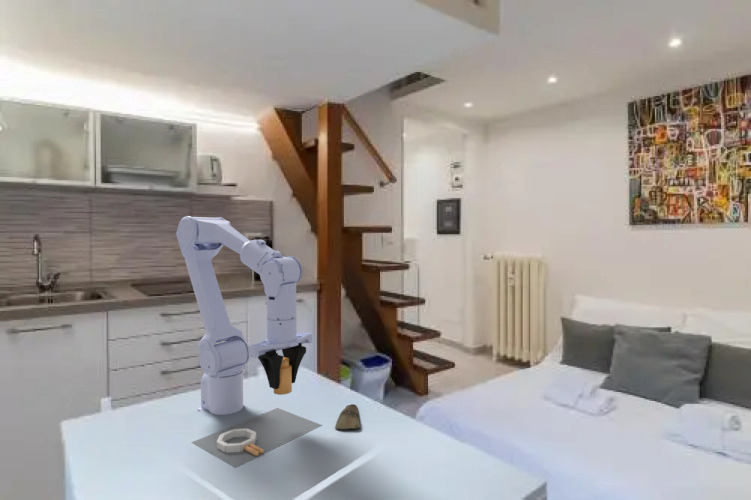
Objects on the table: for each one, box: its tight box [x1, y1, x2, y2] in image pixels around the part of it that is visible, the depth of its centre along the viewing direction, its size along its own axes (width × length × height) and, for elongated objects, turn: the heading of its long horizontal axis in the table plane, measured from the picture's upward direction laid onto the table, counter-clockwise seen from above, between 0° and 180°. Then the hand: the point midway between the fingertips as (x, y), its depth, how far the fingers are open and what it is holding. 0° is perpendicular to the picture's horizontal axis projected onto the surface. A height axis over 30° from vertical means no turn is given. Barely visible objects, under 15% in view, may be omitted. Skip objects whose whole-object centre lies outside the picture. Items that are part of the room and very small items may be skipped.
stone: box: [334, 403, 361, 431], centre depth 91 cm, size 13×5×2 cm, turn 2°
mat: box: [191, 407, 323, 468], centre depth 84 cm, size 14×20×2 cm
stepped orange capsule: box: [272, 357, 293, 395], centre depth 86 cm, size 4×4×6 cm
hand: (282, 384), depth 87 cm, fingers closed on stepped orange capsule, 4 cm apart
